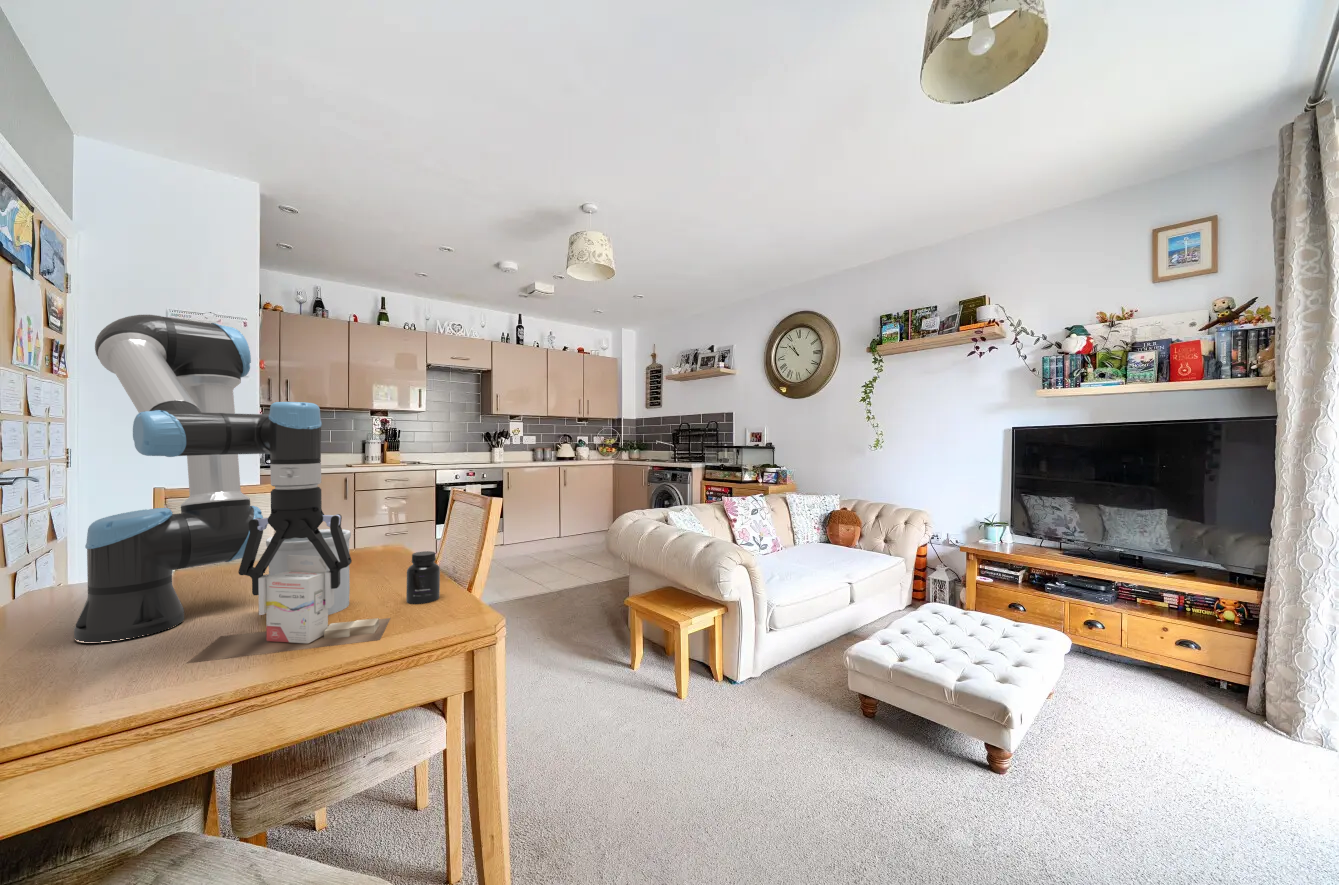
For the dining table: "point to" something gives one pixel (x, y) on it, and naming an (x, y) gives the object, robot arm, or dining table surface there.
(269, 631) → the ink cartridge box
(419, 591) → the supplement bottle
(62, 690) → the dining table surface
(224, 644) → the walnut board
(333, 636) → the near offcut
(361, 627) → the block
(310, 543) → the utensil holder
